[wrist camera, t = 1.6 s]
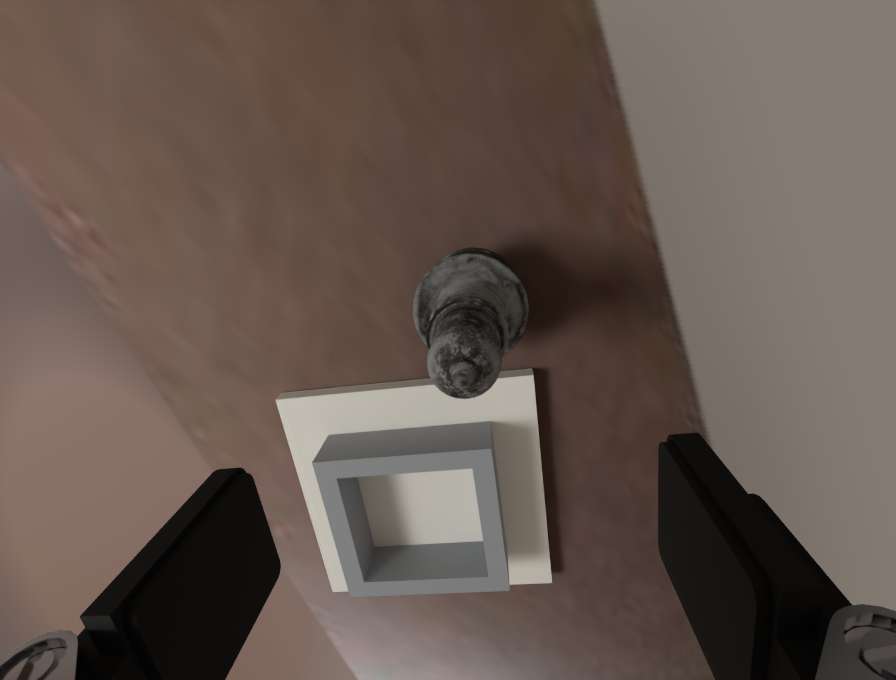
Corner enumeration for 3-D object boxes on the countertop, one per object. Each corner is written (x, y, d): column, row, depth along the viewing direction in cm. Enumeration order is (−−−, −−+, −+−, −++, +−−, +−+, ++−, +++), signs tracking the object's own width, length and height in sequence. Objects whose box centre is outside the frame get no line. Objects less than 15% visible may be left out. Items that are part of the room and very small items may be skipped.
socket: (282, 392, 30) (252, 424, 26) (531, 367, 28) (538, 398, 25) (336, 580, 36) (319, 629, 32) (550, 571, 34) (558, 621, 30)
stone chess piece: (542, 271, 26) (584, 349, 15) (494, 357, 28) (498, 483, 17) (448, 224, 26) (417, 268, 14) (405, 315, 28) (350, 416, 17)
